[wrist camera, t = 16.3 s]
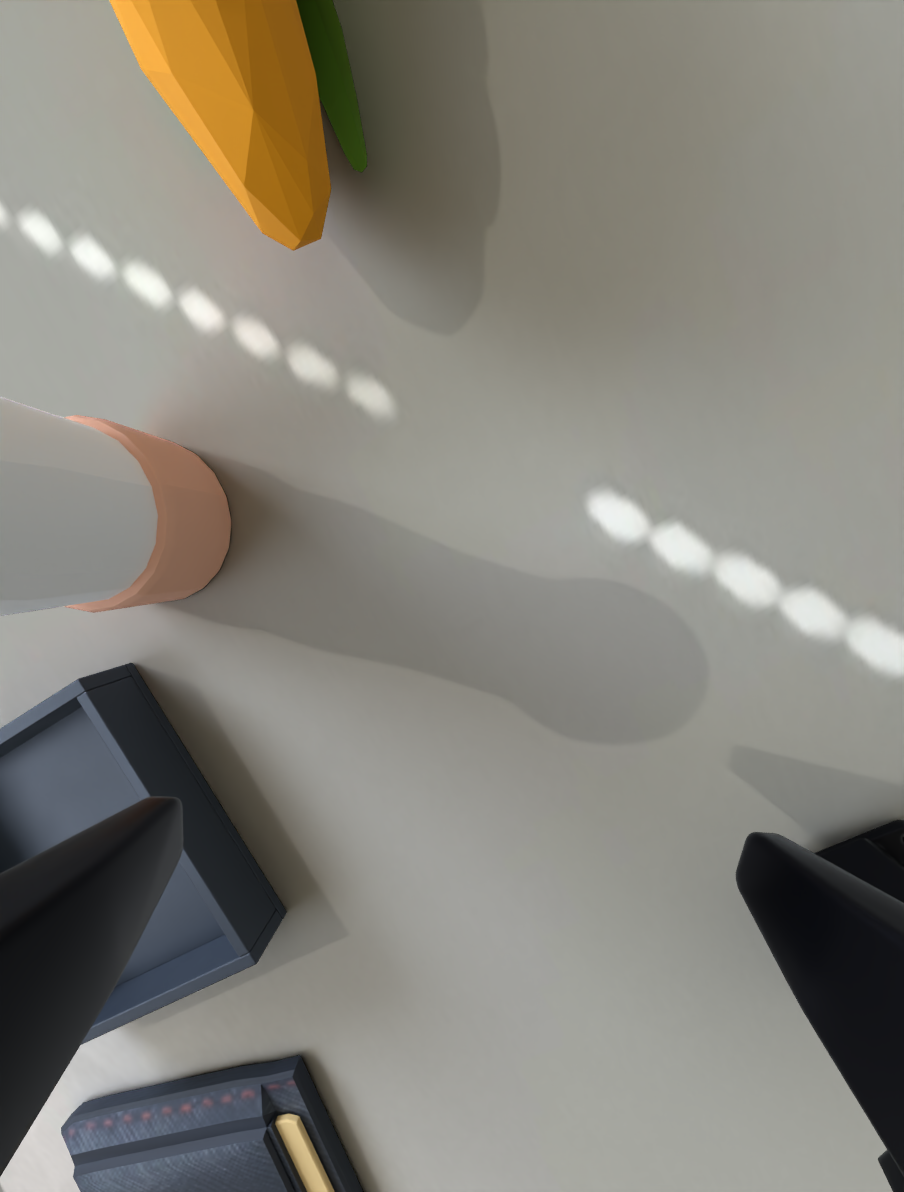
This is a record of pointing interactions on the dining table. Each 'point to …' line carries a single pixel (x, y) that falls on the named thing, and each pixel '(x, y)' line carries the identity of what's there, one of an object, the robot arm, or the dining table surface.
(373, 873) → the dining table surface
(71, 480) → the pepper shaker
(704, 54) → the dining table surface
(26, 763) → the tray
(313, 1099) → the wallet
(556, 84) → the dining table surface
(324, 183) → the corn
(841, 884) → the robot arm
